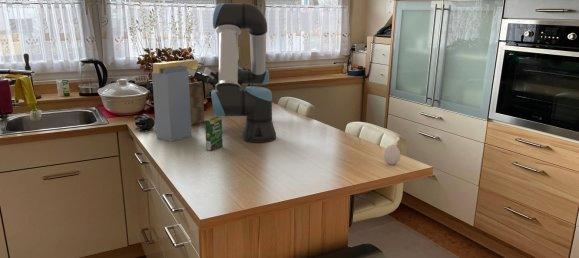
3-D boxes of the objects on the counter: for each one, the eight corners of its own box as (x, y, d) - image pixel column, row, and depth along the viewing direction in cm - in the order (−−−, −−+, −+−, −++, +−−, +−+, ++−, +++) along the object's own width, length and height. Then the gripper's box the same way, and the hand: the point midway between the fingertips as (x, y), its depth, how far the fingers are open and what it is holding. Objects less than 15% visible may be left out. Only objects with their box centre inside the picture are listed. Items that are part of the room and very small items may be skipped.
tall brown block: (191, 118, 239) (189, 80, 234) (204, 121, 233) (202, 81, 228) (176, 122, 231) (174, 82, 226) (190, 125, 225) (187, 84, 220)
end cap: (155, 130, 216) (154, 116, 214) (140, 132, 212) (139, 118, 210) (149, 126, 224) (148, 112, 222) (135, 127, 220) (134, 114, 218)
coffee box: (211, 151, 182) (209, 120, 179) (205, 150, 183) (204, 119, 180) (223, 146, 189) (222, 116, 186) (217, 145, 190) (216, 115, 187)
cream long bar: (191, 68, 209) (191, 59, 208) (197, 68, 206) (197, 60, 205) (153, 72, 191) (152, 63, 190) (159, 73, 189) (158, 64, 188)
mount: (177, 132, 211) (172, 65, 203) (191, 135, 206) (188, 66, 198) (156, 137, 202) (151, 67, 194) (171, 141, 196) (166, 69, 188)
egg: (387, 160, 171) (389, 141, 170) (402, 164, 168) (403, 144, 166) (380, 164, 167) (381, 145, 165) (395, 168, 163) (396, 148, 161)
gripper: (239, 96, 218) (211, 78, 201) (203, 91, 232) (174, 74, 215) (243, 82, 219) (216, 63, 202) (208, 78, 234) (179, 60, 216)
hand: (194, 68), depth 209 cm, fingers open, 13 cm apart
